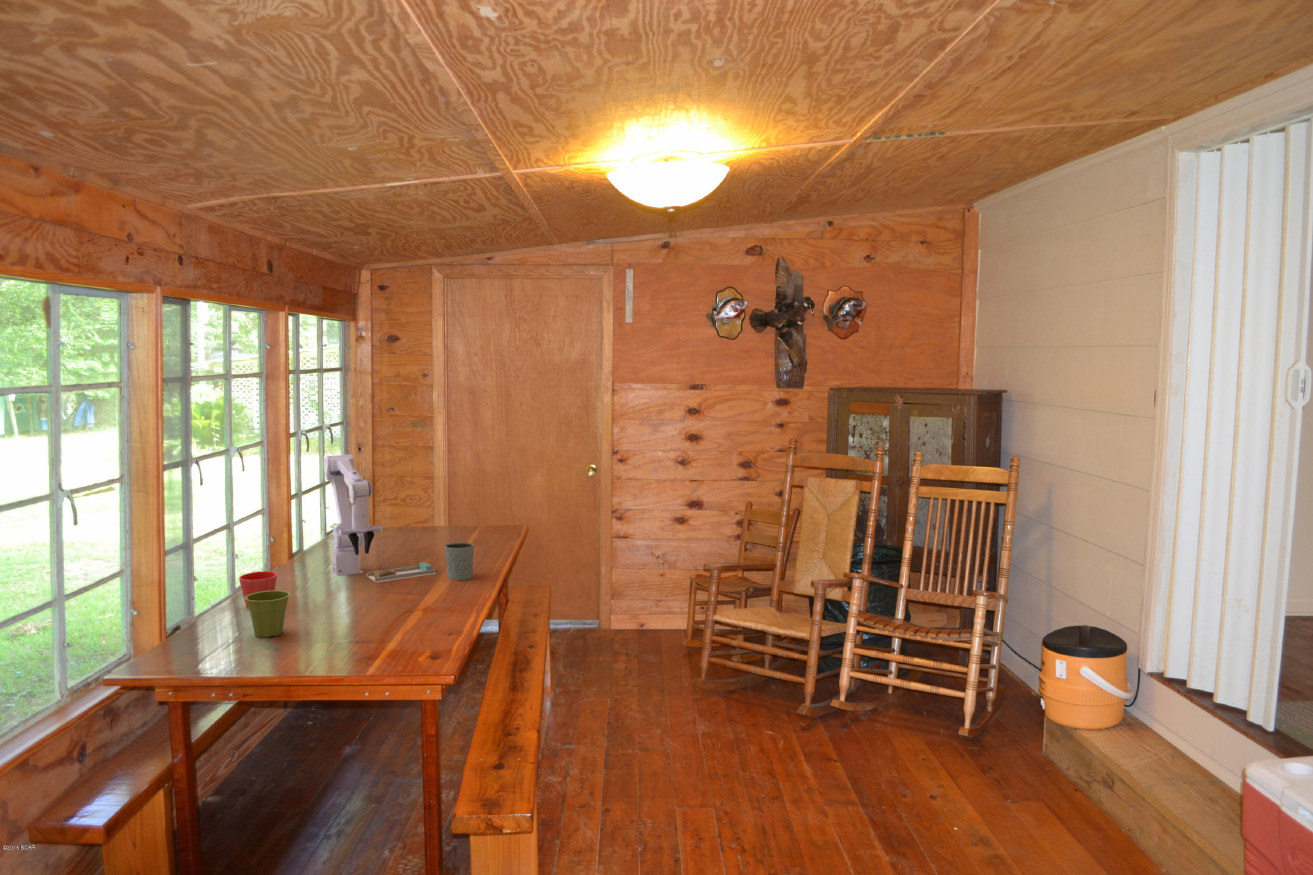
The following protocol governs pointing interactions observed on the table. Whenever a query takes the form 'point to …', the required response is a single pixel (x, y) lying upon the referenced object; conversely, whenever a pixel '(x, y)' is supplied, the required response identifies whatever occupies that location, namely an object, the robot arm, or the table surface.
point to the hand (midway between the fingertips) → (361, 553)
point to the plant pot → (268, 612)
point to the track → (405, 572)
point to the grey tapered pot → (459, 560)
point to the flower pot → (257, 583)
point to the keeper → (384, 573)
